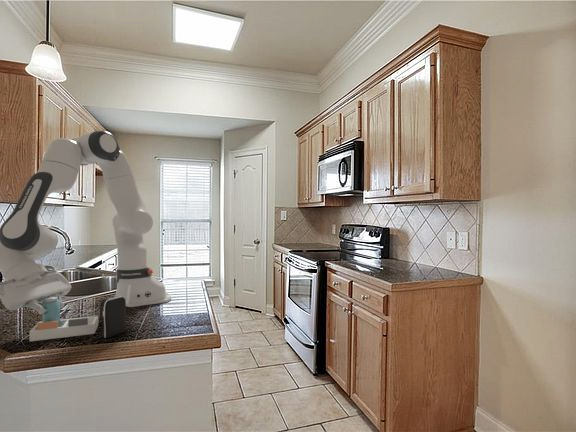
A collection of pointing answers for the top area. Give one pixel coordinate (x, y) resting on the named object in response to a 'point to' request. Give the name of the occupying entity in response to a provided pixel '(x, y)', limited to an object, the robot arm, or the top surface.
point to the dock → (64, 328)
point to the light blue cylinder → (52, 310)
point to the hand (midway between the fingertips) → (53, 309)
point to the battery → (113, 316)
